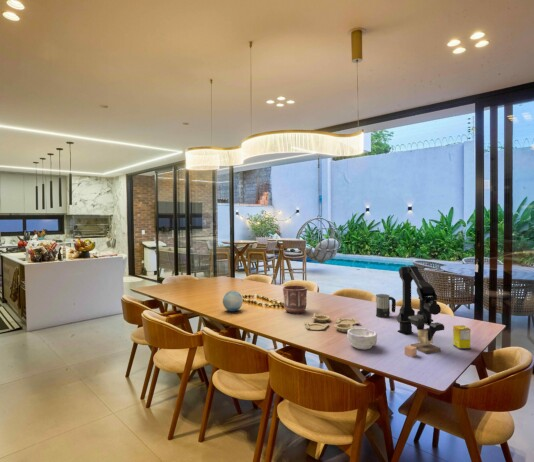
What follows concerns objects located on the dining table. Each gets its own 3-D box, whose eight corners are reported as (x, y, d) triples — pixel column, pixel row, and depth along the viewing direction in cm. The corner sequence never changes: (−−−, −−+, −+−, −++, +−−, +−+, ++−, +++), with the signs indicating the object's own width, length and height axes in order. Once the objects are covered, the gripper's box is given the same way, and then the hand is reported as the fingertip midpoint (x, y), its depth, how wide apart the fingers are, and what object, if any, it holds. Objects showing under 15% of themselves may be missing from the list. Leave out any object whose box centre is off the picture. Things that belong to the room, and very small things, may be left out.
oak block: (417, 341, 179) (417, 329, 179) (424, 339, 181) (424, 328, 181) (425, 344, 174) (425, 332, 174) (432, 342, 176) (432, 331, 176)
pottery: (301, 307, 264) (300, 284, 263) (311, 313, 247) (310, 288, 247) (279, 309, 258) (279, 286, 258) (288, 315, 242) (288, 290, 241)
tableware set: (360, 321, 229) (360, 315, 229) (360, 335, 200) (360, 328, 200) (308, 317, 238) (308, 311, 238) (301, 330, 210) (301, 324, 210)
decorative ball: (245, 308, 262) (244, 289, 261) (240, 314, 247) (239, 293, 246) (226, 308, 264) (226, 288, 264) (220, 313, 249) (220, 292, 249)
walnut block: (410, 348, 180) (410, 344, 180) (424, 345, 184) (424, 341, 184) (425, 354, 171) (425, 350, 171) (440, 351, 175) (440, 348, 175)
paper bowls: (381, 345, 182) (381, 331, 182) (368, 354, 171) (369, 338, 171) (355, 339, 193) (355, 325, 192) (341, 347, 181) (341, 332, 181)
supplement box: (463, 345, 182) (463, 325, 182) (470, 349, 176) (470, 328, 176) (452, 345, 182) (452, 325, 182) (459, 349, 176) (459, 328, 176)
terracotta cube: (404, 354, 170) (404, 346, 170) (409, 352, 173) (409, 345, 173) (412, 357, 167) (412, 349, 167) (416, 355, 169) (416, 347, 169)
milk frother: (382, 318, 233) (382, 297, 232) (366, 313, 247) (366, 292, 247) (397, 316, 238) (398, 295, 238) (382, 310, 253) (382, 291, 252)
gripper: (400, 306, 183) (400, 335, 183) (428, 315, 165) (428, 347, 166) (415, 304, 187) (415, 332, 187) (445, 313, 169) (445, 344, 170)
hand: (425, 339), depth 177 cm, fingers closed on oak block, 5 cm apart
